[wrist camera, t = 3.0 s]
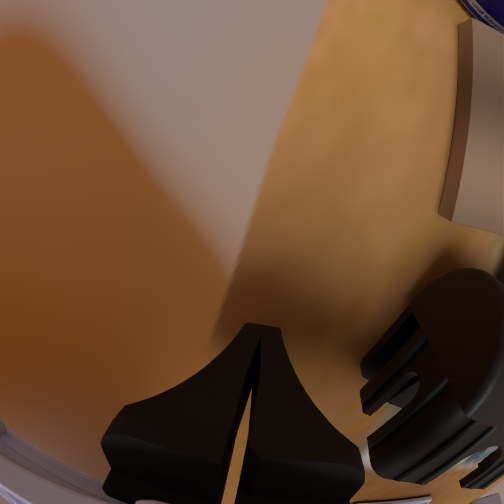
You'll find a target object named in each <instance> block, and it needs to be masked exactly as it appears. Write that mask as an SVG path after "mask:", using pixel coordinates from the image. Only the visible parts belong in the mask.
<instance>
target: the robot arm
mask: <svg viewBox="0 0 504 504" xmlns="http://www.w3.org/2000/svg"><path fill="white" fill-rule="evenodd" d="M251 389H252V396H251V408H250V420H249V432H248V439H247V445H246V450H245V455H244V460H243V465H242V470H241V475H240V480H239V484H238V489H237V494H236V499H235V503H234V504H350V501H349V500H350V499H351V498H352V497H353V496H354V495H355V494H356V492H357V491H358V490H359V489H360V488H361V487H362V485H363V484H364V482H365V471H364V466H363V462H362V458H361V455H360V452H359V449H358V447H357V446H356V445H355V444H354V443H352V442H351V441H350V440H349V439H347V438H346V437H345V436H344V435H343V434H341V433H340V432H339V431H338V430H337V429H336V428H335V427H334V426H333V425H332V424H331V423H330V422H329V421H328V420H327V419H326V418H325V416H324V415H323V414H322V413H321V412H320V410H319V409H318V408H317V407H316V406H315V404H314V403H313V401H312V400H311V399H310V397H309V396H308V394H307V393H306V391H305V389H304V388H303V386H302V384H301V383H300V381H299V379H298V377H297V375H296V373H295V371H294V369H293V367H292V364H291V362H290V359H289V357H288V355H287V352H286V349H285V346H284V342H283V339H282V334H281V330H280V328H277V327H271V326H265V325H259V324H253V323H246V324H244V326H243V327H242V329H241V330H240V332H239V333H238V334H237V336H236V337H235V338H234V339H233V340H232V342H231V343H230V344H229V345H228V346H227V347H226V348H225V349H224V350H223V351H222V352H221V353H220V354H219V355H218V356H217V357H216V358H215V359H214V360H212V361H211V362H210V363H209V364H208V365H207V366H205V367H204V368H203V369H201V370H200V371H199V372H198V373H196V374H195V375H193V376H192V377H190V378H188V379H187V380H185V381H184V382H182V383H180V384H179V385H177V386H175V387H173V388H171V389H169V390H167V391H165V392H163V393H160V394H158V395H156V396H154V397H151V398H148V399H145V400H142V401H139V402H136V403H133V404H129V405H126V406H124V407H123V408H122V410H121V411H120V412H119V413H118V414H117V416H116V417H115V418H114V419H113V421H112V422H111V424H110V425H109V427H108V429H107V430H106V432H105V434H104V436H103V437H102V440H101V446H102V449H103V452H104V454H105V456H106V458H107V460H108V463H109V465H110V467H111V471H110V472H109V474H108V476H107V478H106V480H105V482H103V481H101V480H98V479H96V478H94V477H91V476H89V475H87V474H85V473H83V472H81V471H79V470H77V469H75V468H73V467H71V466H69V465H67V464H65V463H63V462H61V461H59V460H57V459H56V458H54V457H52V456H50V455H48V454H47V453H45V452H43V451H42V450H40V449H38V448H36V447H35V446H33V445H32V444H30V443H28V442H27V441H25V440H24V439H22V438H21V437H19V436H17V435H16V434H14V433H13V432H12V431H10V430H8V429H7V427H6V425H5V423H4V422H3V420H2V419H1V417H0V495H1V496H2V497H4V498H5V499H6V500H7V501H9V502H10V503H11V504H221V502H222V498H223V494H224V489H225V485H226V480H227V476H228V471H229V467H230V462H231V458H232V453H233V449H234V444H235V439H236V436H237V432H238V429H239V426H240V423H241V420H242V417H243V414H244V410H245V407H246V404H247V401H248V398H249V395H250V392H251ZM431 501H432V497H431V496H428V497H422V498H415V499H407V500H398V501H387V502H374V503H357V504H428V503H429V502H431ZM469 504H502V501H501V498H500V495H499V493H495V494H493V495H489V496H486V497H483V498H480V499H477V500H475V501H473V502H471V503H469Z"/></svg>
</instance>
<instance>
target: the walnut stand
mask: <svg viewBox="0 0 504 504" xmlns="http://www.w3.org/2000/svg"><path fill="white" fill-rule="evenodd" d="M438 214H440V215H441V216H443V217H445V218H446V219H448V220H449V221H451V222H454V223H458V224H462V225H466V226H470V227H474V228H477V229H481V230H485V231H488V232H492V233H495V234H499V235H503V236H504V34H502V33H500V32H499V31H497V30H495V29H493V28H491V27H490V26H488V25H486V24H484V23H482V22H480V21H478V20H476V19H474V18H470V19H468V20H467V21H465V22H463V23H462V24H460V25H459V68H458V88H457V102H456V113H455V122H454V130H453V138H452V145H451V152H450V158H449V164H448V170H447V175H446V180H445V185H444V190H443V195H442V200H441V204H440V208H439V213H438Z"/></svg>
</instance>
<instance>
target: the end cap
mask: <svg viewBox="0 0 504 504" xmlns="http://www.w3.org/2000/svg"><path fill="white" fill-rule="evenodd" d="M360 367H361V373H362V376H363V377H364V378H365V379H368V380H370V381H369V382H368V383H367V384H365V385H364V386H363V387H362V388H361V390H360V397H361V403H362V409H363V413H364V414H367V415H369V416H371V415H372V414H373V413H374V412H376V411H377V410H378V409H379V408H380V407H381V406H382V405H383V404H385V403H386V402H388V403H390V404H393V405H395V406H398V407H400V408H402V409H401V410H400V411H399V412H398V413H397V414H396V415H394V416H393V417H392V418H391V419H390V420H388V421H387V422H386V423H385V424H384V425H382V426H381V427H380V428H379V429H377V430H376V431H375V432H374V433H372V434H371V435H370V436H368V437H367V441H368V448H369V456H370V462H371V466H372V468H373V470H374V471H375V472H376V474H378V475H379V476H380V477H382V478H386V479H391V480H395V481H399V482H401V481H403V482H409V483H416V484H420V485H423V484H424V485H426V484H427V483H429V482H430V481H432V480H433V479H435V478H436V477H438V476H439V475H441V474H442V473H444V472H445V471H447V470H448V469H450V468H451V467H452V466H454V465H455V464H457V463H458V462H460V461H461V460H463V459H465V458H466V457H468V456H470V455H472V454H474V453H476V452H478V451H481V450H483V449H486V448H489V447H494V446H498V448H497V449H496V450H495V451H494V452H492V453H491V454H490V455H489V456H487V457H486V458H485V459H484V460H482V461H481V462H480V463H478V468H476V469H475V470H474V471H472V472H471V473H470V474H468V475H467V476H465V477H464V478H462V479H461V480H460V481H459V482H460V485H461V488H469V489H485V488H487V487H488V486H489V485H491V484H492V483H494V482H495V481H496V480H498V479H499V478H500V477H502V476H503V475H504V285H503V284H502V283H501V282H500V281H499V280H498V279H496V278H495V277H494V276H492V275H490V274H489V273H487V272H486V271H483V270H479V269H475V268H469V269H459V270H456V271H453V272H450V273H448V274H446V275H444V276H442V277H440V278H438V279H437V280H435V281H434V282H433V283H431V284H430V285H429V286H427V287H426V288H425V289H424V290H423V291H422V292H421V293H420V294H419V295H418V296H417V297H416V298H415V299H414V300H413V301H412V302H411V303H410V304H409V305H408V307H407V308H406V309H405V310H404V312H403V313H402V314H401V315H400V317H399V318H398V319H397V320H396V321H395V323H394V324H393V325H392V326H391V327H390V328H389V330H388V331H387V332H386V333H385V334H384V335H383V337H382V338H381V339H380V340H379V341H378V342H377V343H376V345H375V346H374V347H373V348H372V349H371V350H370V351H369V352H368V353H367V354H366V356H365V357H364V358H363V359H362V361H361V363H360Z"/></svg>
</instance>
